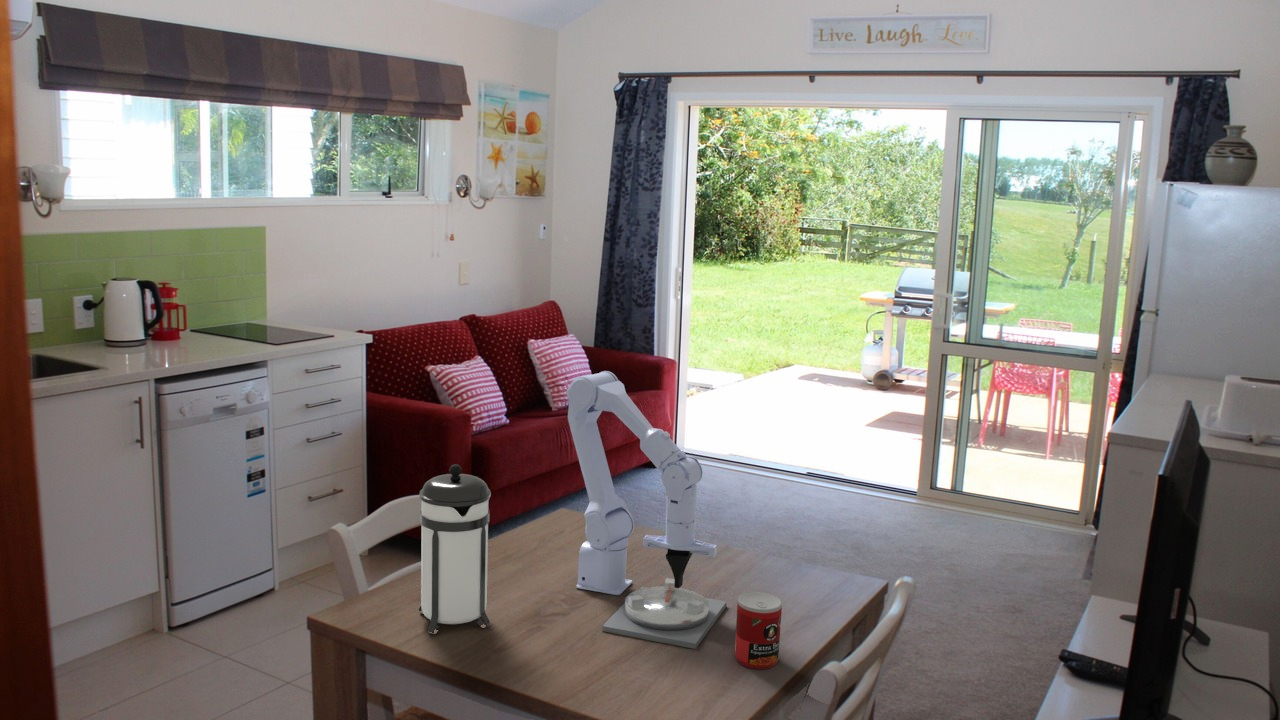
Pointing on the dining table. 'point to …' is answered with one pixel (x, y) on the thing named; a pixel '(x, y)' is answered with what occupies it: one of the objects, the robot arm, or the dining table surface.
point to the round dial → (666, 607)
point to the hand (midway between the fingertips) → (678, 586)
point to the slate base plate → (675, 637)
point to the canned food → (758, 630)
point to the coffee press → (454, 549)
